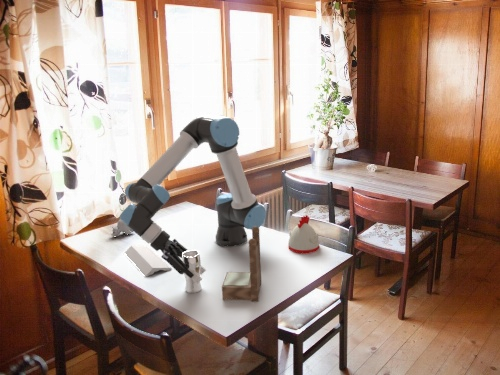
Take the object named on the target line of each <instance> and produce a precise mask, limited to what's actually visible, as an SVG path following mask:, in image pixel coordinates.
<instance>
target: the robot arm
mask: <svg viewBox="0 0 500 375" xmlns="http://www.w3.org/2000/svg"><path fill="white" fill-rule="evenodd" d="M239 128H240V127H239V126H238V124H237V122H236V121H235V120H234V119H233V118H232V117H227V116H225V115H214V114H208V113H207V114H201V115H199V116H197V117H196V118H194V119H192V120H191V121H190V122H189V123H188V124H187V125H186V126H185V127H183V129H182V130H181V131H180V132H179V136H178V138H177V139H176V140H175V141H174V142H173V143H172V144H171V145H170V147H168V148H167V150H166V151H164V152H163V154H162V155H161V156H160V157H158V159H157V160H156V161H155V162H154V163H153V164H152V165H151V167H150V168H148V169H147V171H146V172H145V173H144V174H143V175H142V176H141V177H140V178H139V179H138V180H137V181H136V182H131V183H129V184H128V185H127V186H126V187H125V190H124V194H125V197H126V199H128V200H129V201H130V202H132V203H130V204H128V206H127V207H125V209H124V210H123V211H122V212H121V213H120V215H119V220H120V219H121V220H122V221H123V222H124V223H125V224H126V225H127V226H128V227H129V228H130V229H132V230H133V233H135V234H136V235H138V237H140V238H141V240H143V241H145V242H146V243H147V244H150V248H152V249H154V250H155V251H156V252H159V250H160V251H161V252H162V255H161V256H160V258H161V259H162V260H163V261H164V260H165V262H167V264H168V265H170V266H171V267H172V269H174V270H175V271H176V272H177V273H178V274H180V275H184V273H185V274H186V275H187V276H188V277H190V278H191V279H192V280H193V281H194V282H195V283H197V284H198V283H199V282H200V283H201V281H202V280H203V278H202V275H203V274H204V273H205V272H206V271H207V269H206V268H205V267H203V265H201V271H200V276H199V275H198V274H196V273H195V272H194V271H193V270H192V269H190V268H188V267H187V266H186V265H185V264H184V263H183V261H182V253H183V252H185V251H189V249H187V248H186V247H185V246H184V245H182V244H181V243H179V241H178V240H177V239H176V238H174V239H173V240H170V237H171V235H170V234H168V232H166V230H162V229H163V228H162V227H161V226H160V225H159V224H157V222H155V221H153V219H152V218H153V217H154V216H155V215H156V214H157V213H158V212H159V211H160V210H161V209H162V208H163V207H164V206H165V205H166V203H167V202H168V201H169V199H171V198H170V197H171V194H170V192H169V191H168V190H167V189H166V188H165V187H164V186H162V183H163V182H164V181H165V180H166V179H167V178H168V176H169V175H170V174H171V173H172V172H173V171H174V170H175V169H176V168H177V166H179V164H181V163H182V161H183V160H184V159H186V157H187V156H188V155H189V154H190V152H191V151H193V149H198V148H199V147H200V145H202V144H203V143H208V146H209V148H210V150H211V153H212V154H215V155H216V157H217V160H218V162H219V164H220V167H221V170H222V173H223V177H224V178H225V179H224V180H225V182H226V184H227V187H228V190H229V193H224V194H221V195H219V196H217V197H216V211H217V224H218V225H217V231H216V234H215V243H216V244H217V245H219V246H222V247H237V246H241V245H243V244H246V242H247V241H248V234H247V232H246V229H247V230H248V229H249V230H251V231H252V228H253V227H254V226H257V227H259V228H260V227H262V226H263V224H264V222H265V220H266V217H267V210H266V208H265V207H264V206H263V205H262V204H259V201H258V199H257V196H256V195H255V194H254V193H252V191H251V189H250V185H249V183H248V180H247V176H246V174H245V172H244V171H245V170H244V167H243V165H242V162H241V159H240V157H239V153H238V151H237V147H238V142H239V141H238V140H239V136H240V129H239Z"/></svg>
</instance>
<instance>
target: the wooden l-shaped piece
mask: <svg viewBox="0 0 500 375" xmlns="http://www.w3.org/2000/svg"><path fill="white" fill-rule="evenodd" d="M251 232H252V238H250V239H249V240H248V253H249V254H248V256H249V272H245V271H243V272H241V271H240V272H239V271H234V272H233V271H226V274H225V277H224V279H223V283H222V286H221V292H222V295H221V296H222V300H236V301H237V300H243V301H245V300H246V301H251V302H256V303H257V302H259V299H260V298H259V297H260V296H259V294H260V288H261V286H262V269H261V268H262V266H261V245H260V244H261V243H260V241H261V240H260V227H257V226H254V227H253V228H252V230H251Z"/></svg>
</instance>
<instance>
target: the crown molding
mask: <svg viewBox="0 0 500 375" xmlns="http://www.w3.org/2000/svg"><path fill="white" fill-rule="evenodd" d="M154 252H155V251H154V250H153V249H151V247H149V246H148V245H130V246H129V248H128V249H127V250H126V251H125V252H124V253H126V254H127V256H128V257H129V258H130V259H131V260H132V261H133V262H134V263H135V264H136V266H137V267H138V268H139V269H140V271H141V272H142V273H143V274H144V275H145V276H147V277H149V276H152V275H153V274H154V273H157V272H159V271H165V272H169V271H172V270H171V269H172V268H171V267H170V266H169V264H168V263H166V261H164V259H163V258H162V257H161V256H159V255H158V254H157V253H156V252H155V253H154ZM168 270H169V271H168ZM140 271H139V272H140Z"/></svg>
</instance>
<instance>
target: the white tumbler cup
mask: <svg viewBox="0 0 500 375" xmlns="http://www.w3.org/2000/svg"><path fill="white" fill-rule="evenodd" d="M181 260H182V261H183V263H184V264H185V265H186V266H187V267H188V268H190V269H192V270H193V271H194V272H195V273H196V274H198V275H199V276H200V277H201V274H200V271H201V266H202V263H201V256H200V251H199V250H196V249H194V250H193V249H188V251H185V252H183V253H182V258H181ZM183 275H184V279H185V292H187V293H189V294H195V293H199V292H200V291H201V290H202V284H201V281H200V282H199V283H198V284H197V283H195V282H194V281H193V280H192V279H191V278H190V277H188V276H187V275H186V274H185V273H183Z"/></svg>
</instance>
